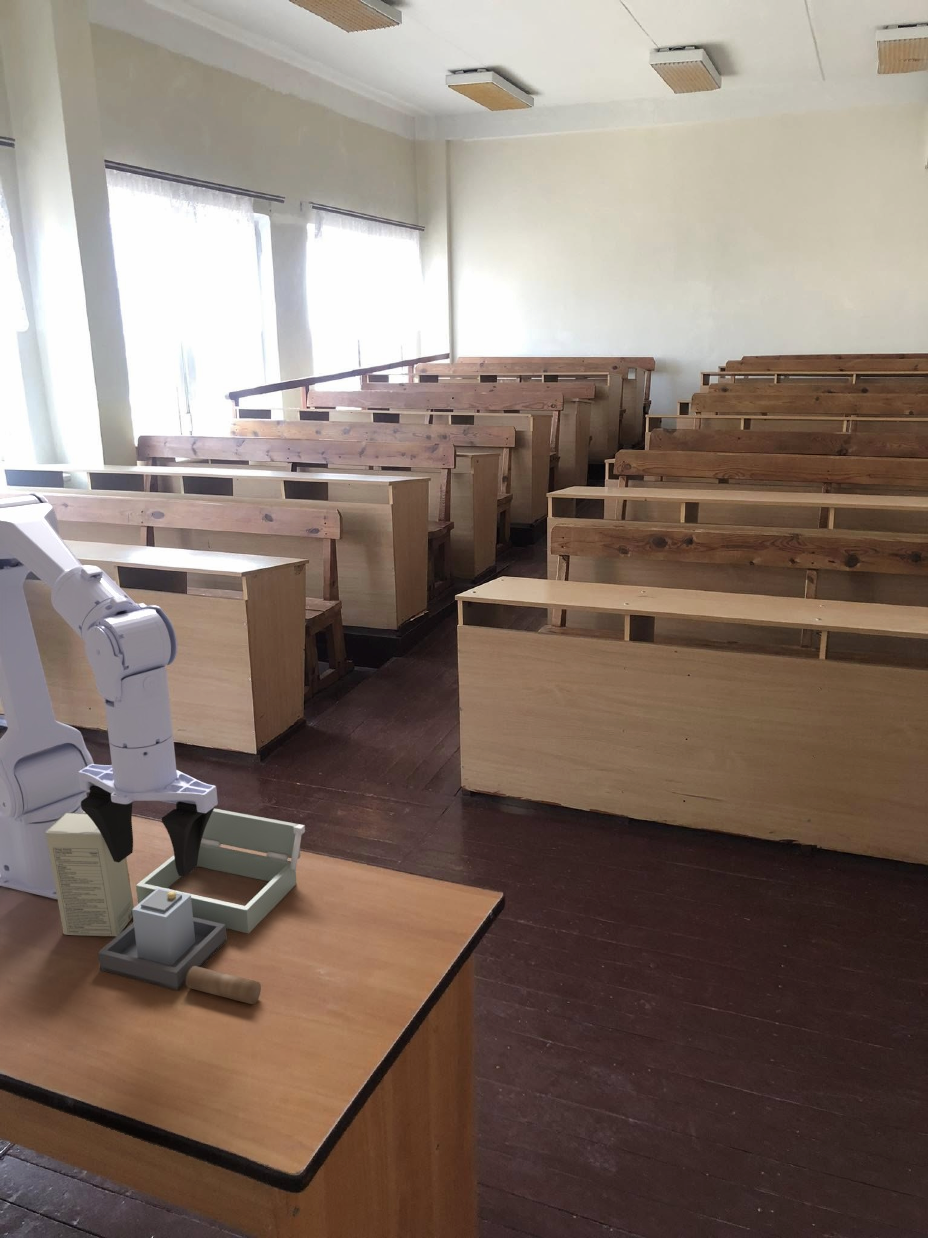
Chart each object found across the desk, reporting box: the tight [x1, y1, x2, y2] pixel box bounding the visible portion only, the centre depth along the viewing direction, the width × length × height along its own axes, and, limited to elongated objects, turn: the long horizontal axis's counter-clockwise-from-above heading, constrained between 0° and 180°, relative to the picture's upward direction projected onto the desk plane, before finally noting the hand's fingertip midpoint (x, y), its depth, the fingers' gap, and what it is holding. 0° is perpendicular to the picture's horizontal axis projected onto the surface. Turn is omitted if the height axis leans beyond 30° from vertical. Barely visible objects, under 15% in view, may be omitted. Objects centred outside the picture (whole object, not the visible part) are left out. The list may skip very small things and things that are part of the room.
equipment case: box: [135, 808, 306, 934], centre depth 104 cm, size 15×11×7 cm
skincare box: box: [46, 812, 135, 937], centre depth 98 cm, size 6×4×12 cm
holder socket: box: [97, 917, 228, 991], centre depth 94 cm, size 9×8×2 cm
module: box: [132, 888, 195, 965], centre depth 94 cm, size 4×4×6 cm
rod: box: [185, 966, 262, 1005], centre depth 89 cm, size 7×2×2 cm, turn 70°
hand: (155, 864), depth 92 cm, fingers open, 7 cm apart
